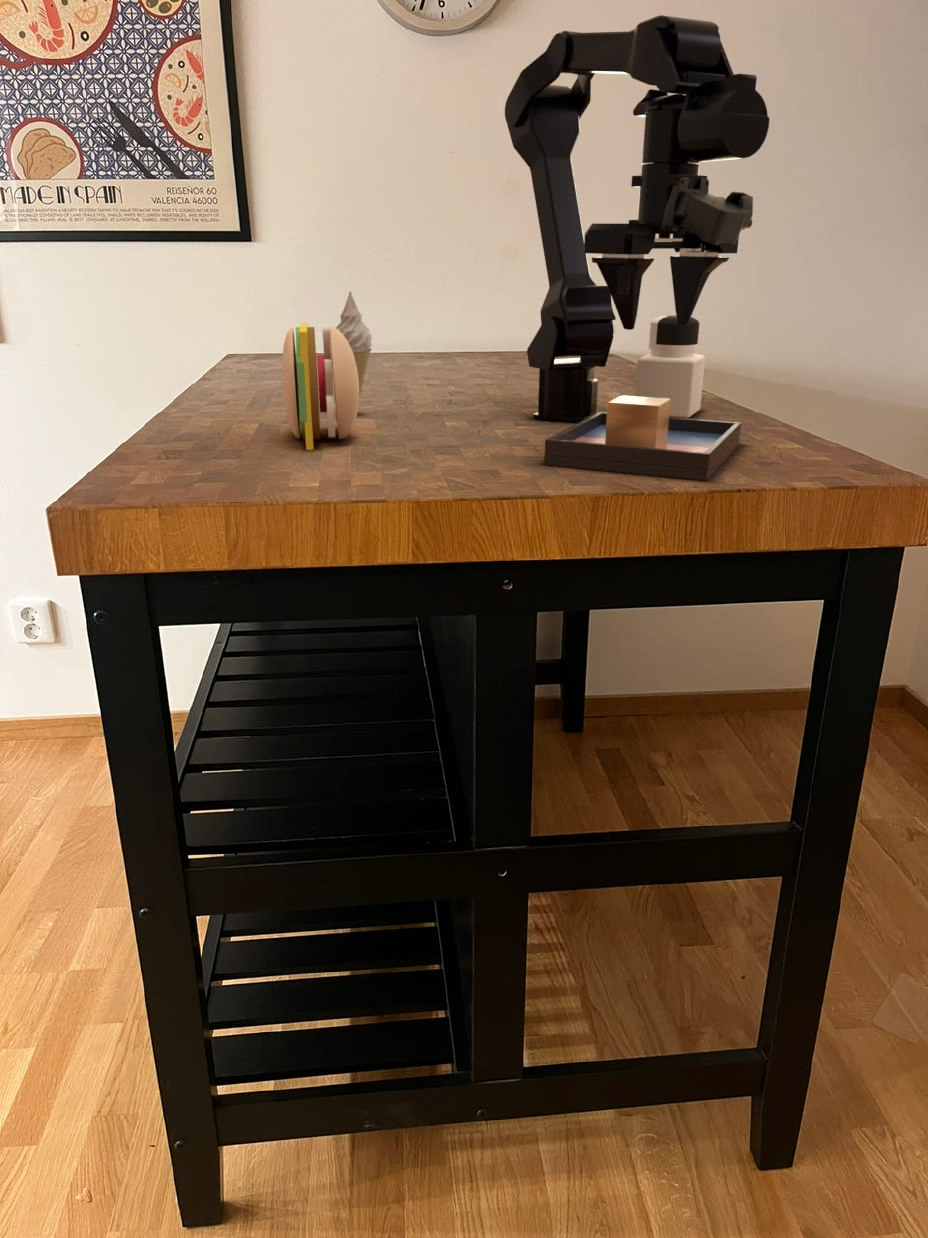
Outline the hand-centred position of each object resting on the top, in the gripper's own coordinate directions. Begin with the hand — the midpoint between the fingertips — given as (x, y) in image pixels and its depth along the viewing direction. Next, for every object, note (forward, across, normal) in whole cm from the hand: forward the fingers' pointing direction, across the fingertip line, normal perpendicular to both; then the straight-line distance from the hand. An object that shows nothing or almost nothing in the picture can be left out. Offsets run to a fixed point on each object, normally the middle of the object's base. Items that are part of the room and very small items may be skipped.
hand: (656, 326), depth 99 cm
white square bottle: (+12, +17, +10) cm, 23 cm away
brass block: (+11, -10, -7) cm, 16 cm away
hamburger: (+13, -27, +24) cm, 38 cm away
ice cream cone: (+13, -16, +35) cm, 40 cm away
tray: (+12, -6, -5) cm, 14 cm away
